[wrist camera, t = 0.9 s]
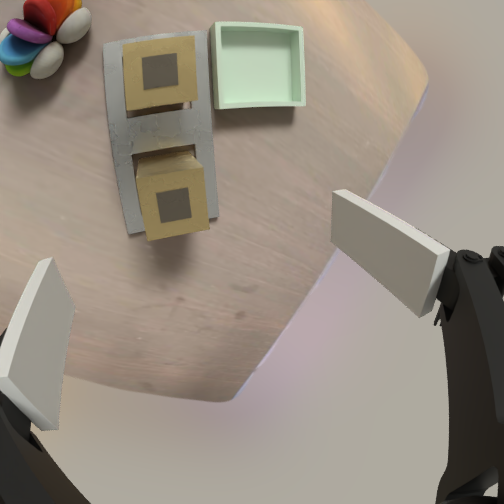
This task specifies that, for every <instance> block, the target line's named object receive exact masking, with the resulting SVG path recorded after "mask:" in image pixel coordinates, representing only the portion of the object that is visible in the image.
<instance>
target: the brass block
mask: <svg viewBox="0 0 504 504" xmlns="http://www.w3.org/2000/svg"><path fill="white" fill-rule="evenodd" d="M136 184H137V190H138V195H139V201H140V206H141V212H142V217H143V222H144V227H145V231H146V236H147V241H152V240H157V239H162V238H167V237H172V236H177V235H182V234H187V233H192V232H197V231H203V230H208V229H210V227H209V218H208V208H207V199H206V189H205V179H204V168H203V166H202V165H201V164H200V163H199V162H198V161H197V160H196V159H195V158H194V157H193V155H192V154H191V153H190V152H189V151H181V152H175V153H168V154H163V155H157V156H151V157H146V158H141V159H139V163H138V169H137V175H136Z"/></svg>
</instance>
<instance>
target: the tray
mask: <svg viewBox="0 0 504 504" xmlns="http://www.w3.org/2000/svg"><path fill="white" fill-rule="evenodd" d="M210 42H211V63H212V82H213V99H214V109H229V108H244V107H268V106H306V97H305V63H304V41H303V27H300V26H292V25H282V24H271V23H255V22H215V23H214V24H213V25H212V26H211V27H210Z"/></svg>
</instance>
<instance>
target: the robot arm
mask: <svg viewBox="0 0 504 504" xmlns="http://www.w3.org/2000/svg"><path fill="white" fill-rule="evenodd" d="M331 242H332V243H333V244H334V245H335V246H337V247H338V248H339V249H340V250H341V251H343V252H344V253H345V254H346V255H348V256H349V257H350V258H351V259H352V260H354V261H355V262H356V263H357V264H358V265H359V266H361V267H362V268H363V269H364V270H365V271H367V272H368V273H369V274H370V275H371V276H372V277H374V278H375V279H376V280H377V281H378V282H379V283H381V284H382V285H383V286H384V287H385V288H386V289H388V290H389V291H390V292H391V293H392V294H393V295H394V296H395V297H397V298H398V299H399V300H400V301H401V302H402V303H403V304H404V305H405V306H407V307H408V308H409V309H410V310H411V311H412V312H414V314H415V315H417V316H418V317H419V318H420V317H422V316H424V315H426V314H427V313H429V312H431V311H432V309H433V306H434V303H435V300H436V298H437V299H438V300H439V301H440V302H441V305H440V308H439V310H438V313H437V315H436V318H435V321H434V326H436V324H437V322H438V320H439V319H441V323H440V326H442V332H443V339H444V347H445V355H446V366H447V378H448V396H449V450H448V463H447V467H446V470H445V472H444V474H443V476H442V477H441V480H440V482H439V486H438V490H437V497H436V503H435V504H504V301H503V299H502V298H503V295H504V247H503V246H495V247H493V248H492V250H491V254H490V257H489V258H483V257H482V256H481V255H479V254H478V253H475V252H473V251H469V250H460V251H458V252H457V253H456V252H454V251H453V250H451V249H449V248H448V247H446V246H445V245H443V244H442V243H440V242H438V241H437V240H435V239H433V238H432V237H430V236H429V235H426V234H425V233H424V232H422V231H421V230H419V229H417V228H415V227H413V226H411V225H409V224H408V223H406V222H404V221H403V220H401V219H399V218H397V217H396V216H394V215H392V214H390V213H389V212H387V211H385V210H383V209H381V208H379V207H378V206H376V205H374V204H372V203H370V202H369V201H367V200H365V199H363V198H361V197H359V196H357V195H355V194H353V193H351V192H349V191H348V190H346V189H343V190H337V191H332V220H331ZM75 308H76V307H75V305H74V303H73V301H72V299H71V297H70V294H69V292H68V290H67V288H66V286H65V284H64V282H63V279H62V277H61V275H60V273H59V270H58V268H57V266H56V263H55V261H54V259H53V257H51V258H48V259H44V260H41V261H39V262H38V264H37V266H36V268H35V270H34V272H33V274H32V276H31V278H30V279H29V281H28V284H27V286H26V288H25V290H24V292H23V294H22V296H21V298H20V300H19V303H18V305H17V307H16V309H15V312H14V314H13V316H12V319H11V321H10V323H9V326H8V328H6V329H5V331H4V332H3V333H2V335H1V336H0V504H91V503H90V502H89V501H88V500H87V499H86V498H85V497H84V496H83V495H82V494H81V493H80V492H79V490H78V489H77V488H76V487H75V486H74V485H73V484H72V482H71V481H70V480H69V479H68V478H67V477H66V476H65V474H64V473H63V472H62V471H61V469H60V468H59V467H58V465H57V464H56V463H55V462H54V460H53V459H52V458H51V456H50V455H49V454H48V452H47V451H46V449H45V448H44V447H43V445H42V444H41V443H40V441H39V440H38V438H37V437H36V435H35V434H33V432H32V431H30V427H31V422H32V423H34V424H35V426H37V427H38V428H39V429H40V430H41V431H45V430H58V429H59V413H60V401H61V391H62V382H63V374H64V367H65V360H66V354H67V348H68V342H69V337H70V331H71V326H72V322H73V317H74V312H75ZM496 483H498V496H497V497H490V496H483V495H484V493H485V491H486V490H487V489H488V488H489V487H491V486H493V485H494V484H496Z"/></svg>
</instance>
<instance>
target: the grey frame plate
mask: <svg viewBox="0 0 504 504" xmlns="http://www.w3.org/2000/svg"><path fill="white" fill-rule="evenodd" d="M194 35H195V55H196V74H197V91H198V100H197V101H191V109H184V110H176V111H169V112H163V113H156V114H150V115H144V116H139V117H133V118H128V119H127V111H126V100H125V88H124V74H123V44H128V43H134V42H140V41H146V40H153V39H161V38H170V37H181V36H194ZM103 58H104V77H105V91H106V102H107V112H108V122H109V130H110V138H111V145H112V152H113V158H114V164H115V171H116V176H117V182H118V187H119V193H120V198H121V203H122V208H123V212H124V217H125V222H126V226H127V230H128V234H132V233H137V232H142V231H145V227H144V222H143V217H142V213H141V208H140V202H139V197H138V191H137V185H136V179H135V173H134V166H133V160H132V154H137V153H142V152H147V151H153V150H159V149H165V148H171V147H177V146H184V145H190V144H194V147H195V158H196V160H197V161H198V162H199V163H200V164H201V165H202V166H203V168H204V179H205V189H206V199H207V208H208V218H215V217H219V207H218V196H217V184H216V172H215V160H214V147H213V133H212V119H211V104H210V88H209V70H208V50H207V30H206V31H188V32H176V33H166V34H157V35H150V36H143V37H137V38H131V39H125V40H120V41H115V42H110V43H105V44H103Z"/></svg>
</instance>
